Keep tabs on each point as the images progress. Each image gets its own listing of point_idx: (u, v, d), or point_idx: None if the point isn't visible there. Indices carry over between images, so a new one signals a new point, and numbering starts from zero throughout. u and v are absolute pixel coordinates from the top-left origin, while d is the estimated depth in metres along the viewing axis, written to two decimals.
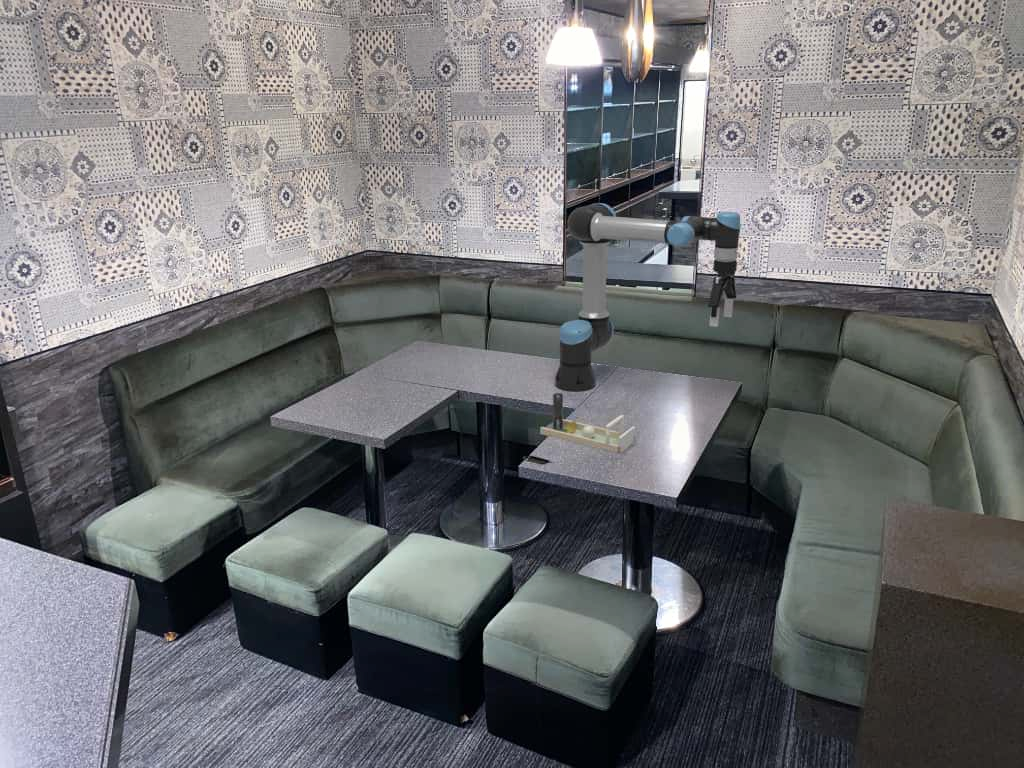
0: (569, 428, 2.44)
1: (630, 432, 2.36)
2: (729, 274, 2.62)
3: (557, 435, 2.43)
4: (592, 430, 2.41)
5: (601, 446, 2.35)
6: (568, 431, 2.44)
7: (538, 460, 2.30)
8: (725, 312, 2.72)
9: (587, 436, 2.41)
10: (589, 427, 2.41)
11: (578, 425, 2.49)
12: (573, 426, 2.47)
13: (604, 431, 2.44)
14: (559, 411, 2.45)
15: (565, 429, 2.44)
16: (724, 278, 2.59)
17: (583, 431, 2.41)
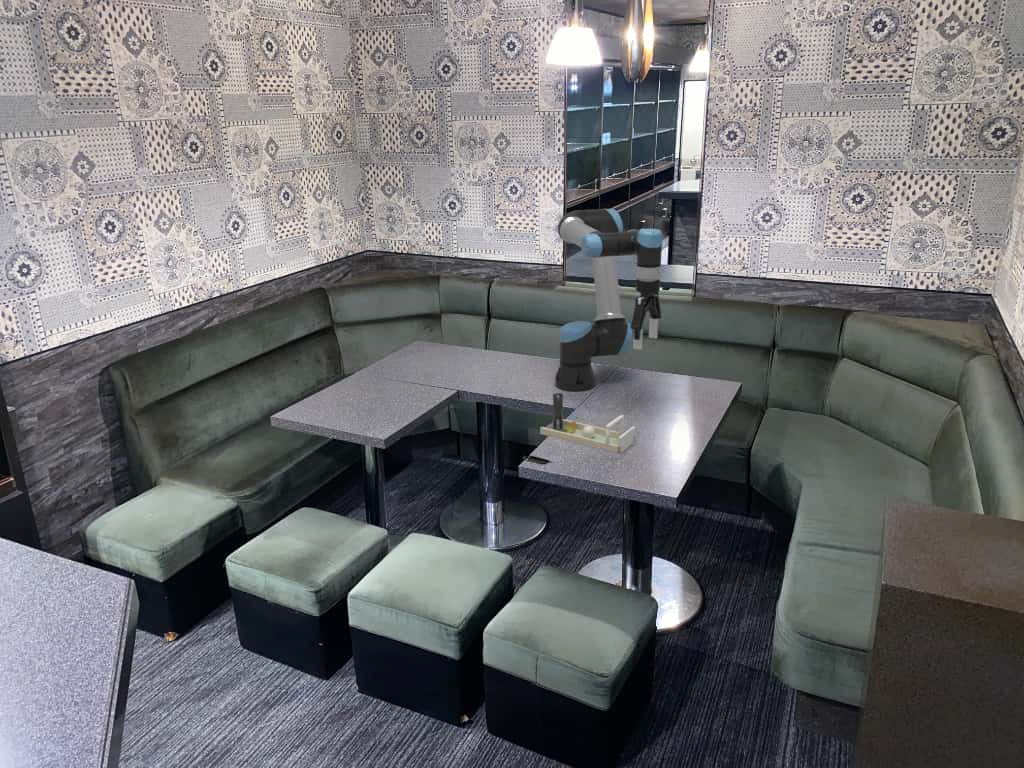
0: (569, 428, 2.44)
1: (630, 432, 2.36)
2: (652, 294, 2.50)
3: (557, 435, 2.43)
4: (592, 430, 2.41)
5: (601, 446, 2.35)
6: (568, 431, 2.44)
7: (538, 460, 2.30)
8: (650, 333, 2.60)
9: (587, 436, 2.41)
10: (589, 427, 2.41)
11: (578, 425, 2.49)
12: (573, 426, 2.47)
13: (604, 431, 2.44)
14: (559, 411, 2.45)
15: (565, 429, 2.44)
16: (647, 298, 2.46)
17: (583, 431, 2.41)
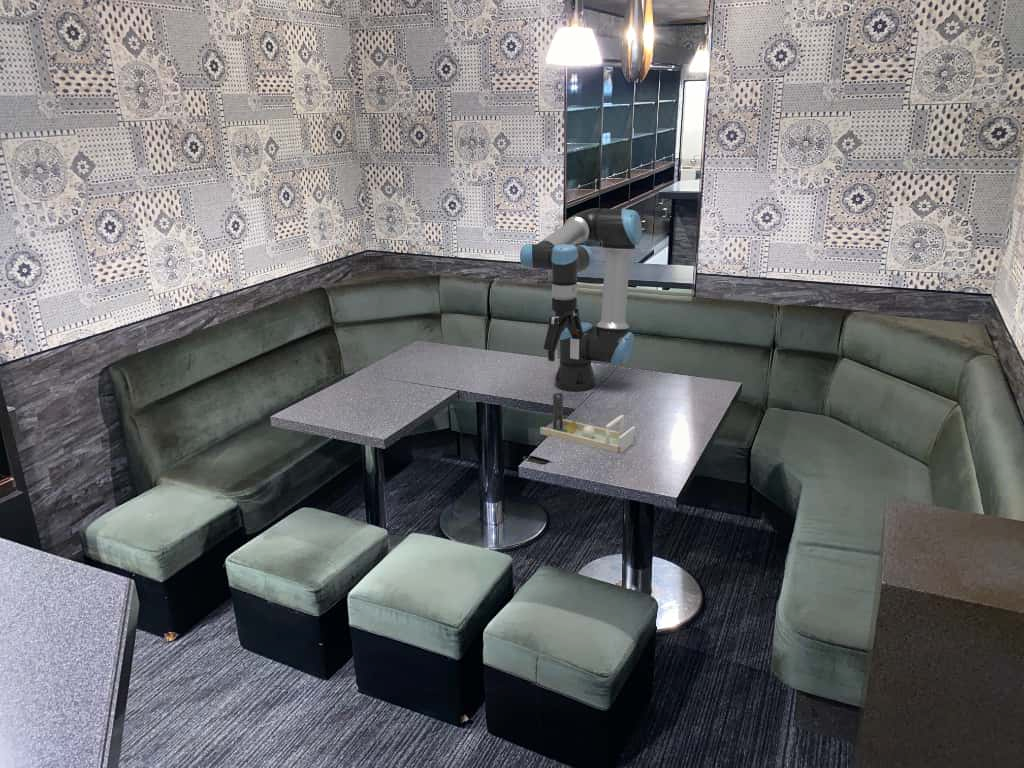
0: (569, 428, 2.44)
1: (630, 432, 2.36)
2: (570, 313, 2.38)
3: (557, 435, 2.43)
4: (592, 430, 2.41)
5: (601, 446, 2.35)
6: (568, 431, 2.44)
7: (538, 460, 2.30)
8: (571, 353, 2.47)
9: (587, 436, 2.41)
10: (589, 427, 2.41)
11: (578, 425, 2.49)
12: (573, 426, 2.47)
13: (604, 431, 2.44)
14: (559, 411, 2.45)
15: (565, 429, 2.44)
16: (562, 318, 2.34)
17: (583, 431, 2.41)
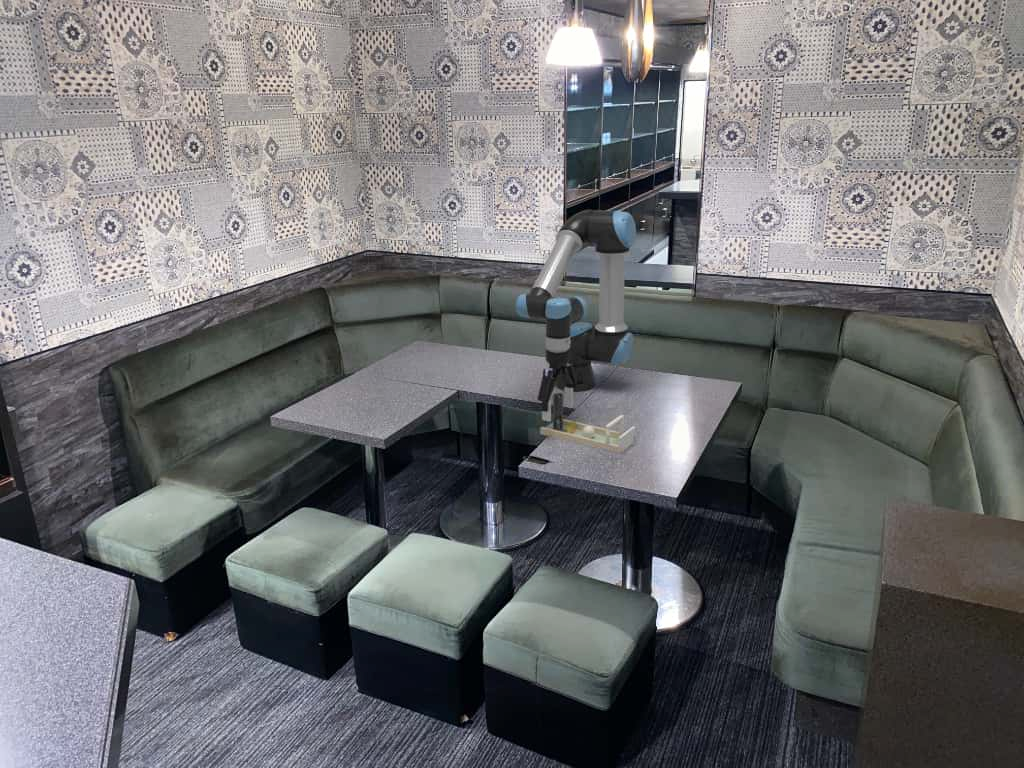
0: (569, 428, 2.44)
1: (630, 432, 2.36)
2: (564, 364, 2.42)
3: (557, 435, 2.43)
4: (592, 430, 2.41)
5: (601, 446, 2.35)
6: (568, 431, 2.44)
7: (538, 460, 2.30)
8: (565, 402, 2.52)
9: (587, 436, 2.41)
10: (589, 427, 2.41)
11: (578, 425, 2.49)
12: (573, 426, 2.47)
13: (604, 431, 2.44)
14: (559, 411, 2.45)
15: (565, 429, 2.44)
16: (556, 369, 2.39)
17: (583, 431, 2.41)
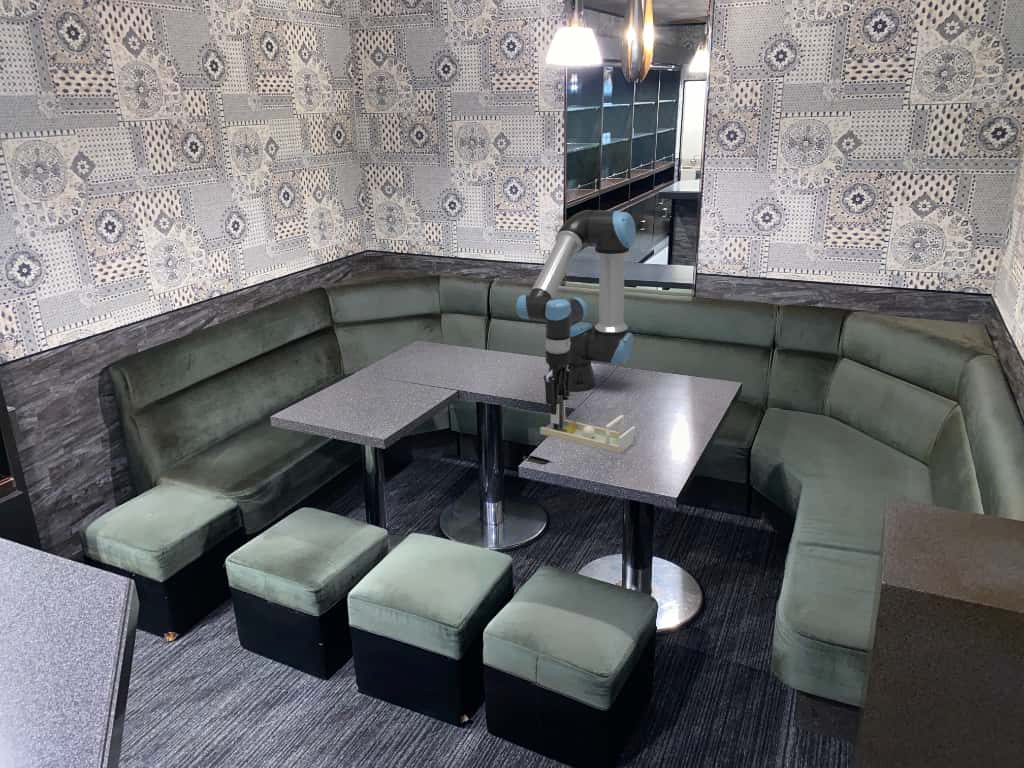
0: (569, 428, 2.44)
1: (630, 432, 2.36)
2: None
3: (557, 435, 2.43)
4: (592, 430, 2.41)
5: (601, 446, 2.35)
6: (568, 431, 2.44)
7: (538, 460, 2.30)
8: None
9: (587, 436, 2.41)
10: (589, 427, 2.41)
11: (578, 425, 2.49)
12: (573, 426, 2.47)
13: (604, 431, 2.44)
14: (559, 411, 2.45)
15: (565, 429, 2.44)
16: (556, 370, 2.39)
17: (583, 431, 2.41)
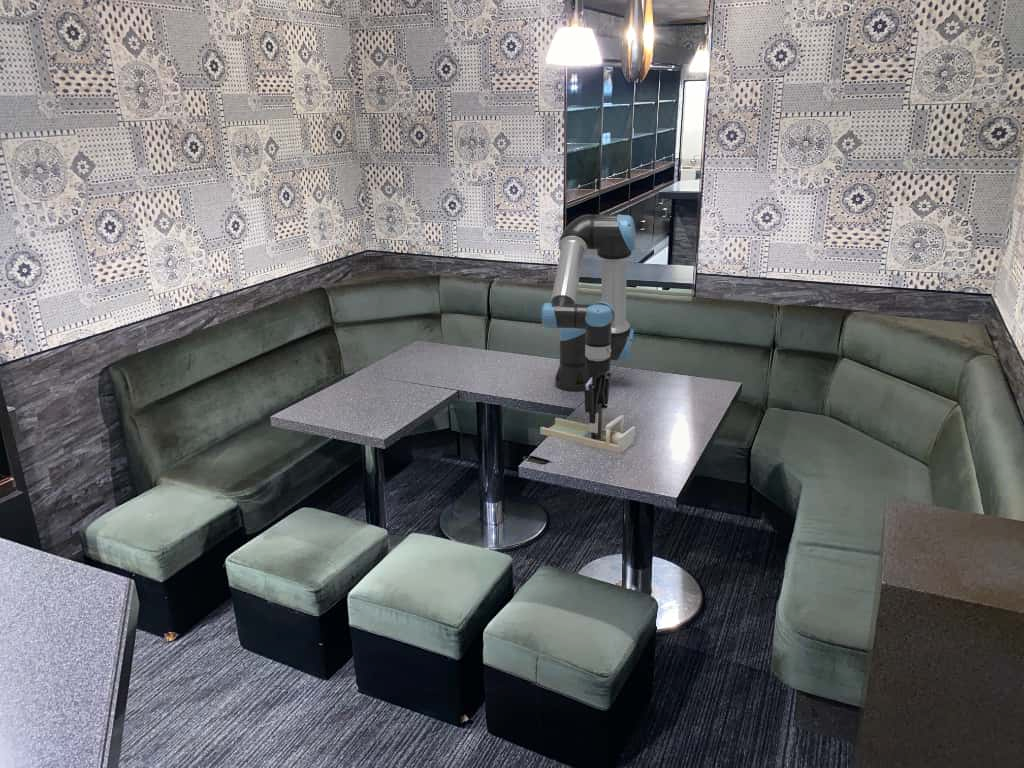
0: None
1: (630, 432, 2.36)
2: None
3: (557, 435, 2.43)
4: (614, 433, 2.37)
5: (601, 446, 2.35)
6: None
7: (538, 460, 2.30)
8: None
9: (617, 439, 2.35)
10: None
11: (578, 425, 2.49)
12: None
13: (604, 431, 2.44)
14: None
15: (604, 438, 2.36)
16: (595, 378, 2.32)
17: (613, 443, 2.36)
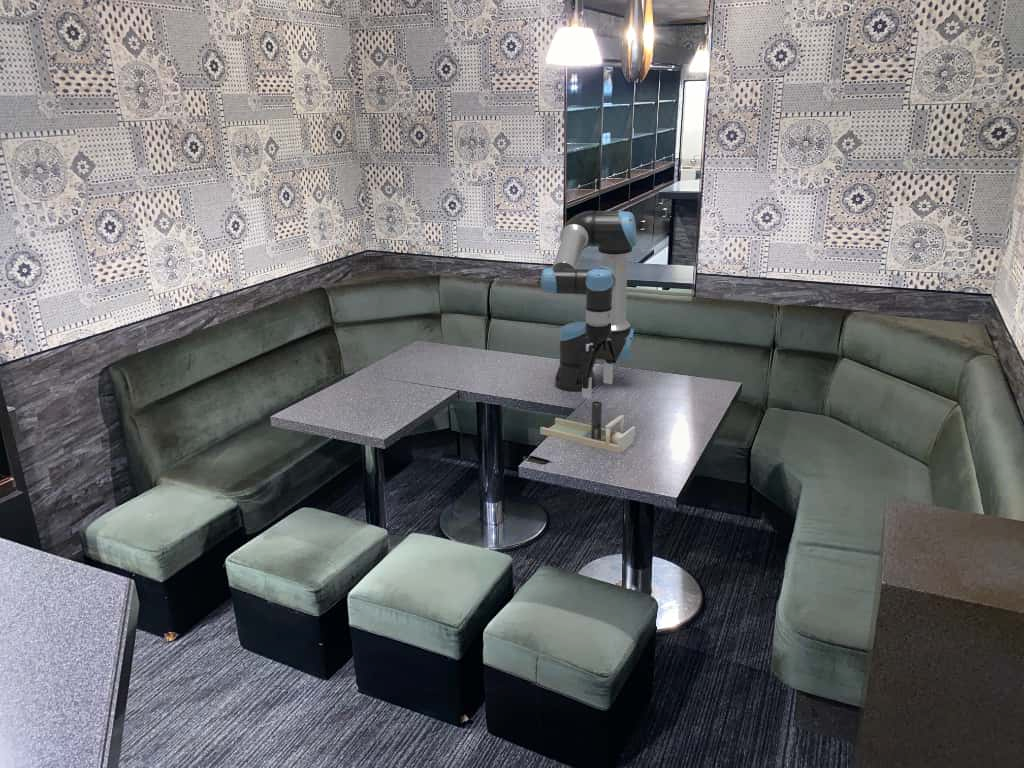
0: None
1: (630, 432, 2.36)
2: (604, 338, 2.32)
3: (557, 435, 2.43)
4: None
5: (601, 446, 2.35)
6: None
7: (538, 460, 2.30)
8: (605, 378, 2.41)
9: (617, 439, 2.35)
10: (612, 436, 2.38)
11: (578, 425, 2.49)
12: None
13: (604, 431, 2.44)
14: (597, 420, 2.38)
15: (604, 438, 2.36)
16: (597, 344, 2.28)
17: (613, 443, 2.36)
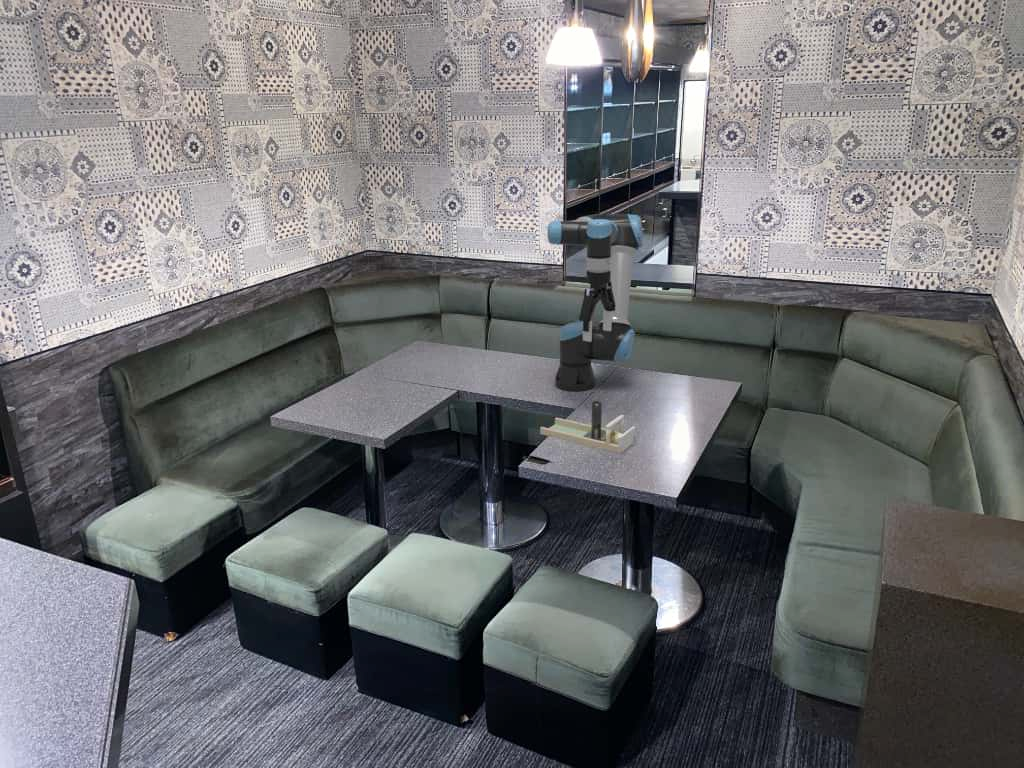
0: None
1: (630, 432, 2.36)
2: (604, 285, 2.47)
3: (557, 435, 2.43)
4: (617, 433, 2.36)
5: (601, 446, 2.35)
6: None
7: (538, 460, 2.30)
8: (604, 325, 2.56)
9: None
10: (614, 435, 2.37)
11: (578, 425, 2.49)
12: (612, 435, 2.39)
13: (604, 431, 2.44)
14: (597, 420, 2.38)
15: (604, 438, 2.36)
16: (597, 290, 2.43)
17: (614, 442, 2.36)
